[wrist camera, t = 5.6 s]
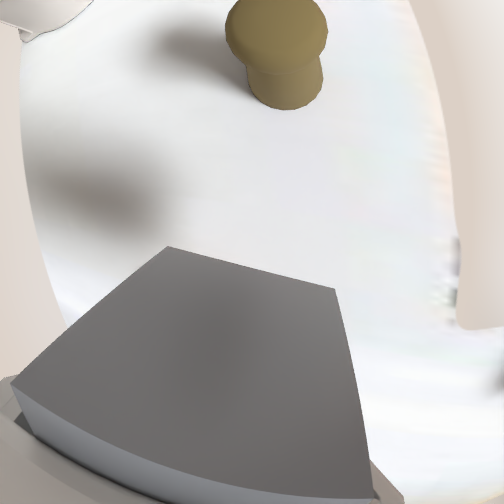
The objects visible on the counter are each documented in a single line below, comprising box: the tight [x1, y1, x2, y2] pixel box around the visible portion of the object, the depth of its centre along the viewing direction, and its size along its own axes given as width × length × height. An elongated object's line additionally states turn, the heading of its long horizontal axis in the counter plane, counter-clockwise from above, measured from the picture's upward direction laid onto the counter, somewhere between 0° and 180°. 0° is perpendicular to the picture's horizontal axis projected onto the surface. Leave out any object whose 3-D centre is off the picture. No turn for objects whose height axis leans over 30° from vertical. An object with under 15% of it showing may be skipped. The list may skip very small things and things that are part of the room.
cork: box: [225, 0, 328, 110], centre depth 16 cm, size 6×6×11 cm
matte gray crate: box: [10, 246, 374, 504], centre depth 9 cm, size 7×7×9 cm
